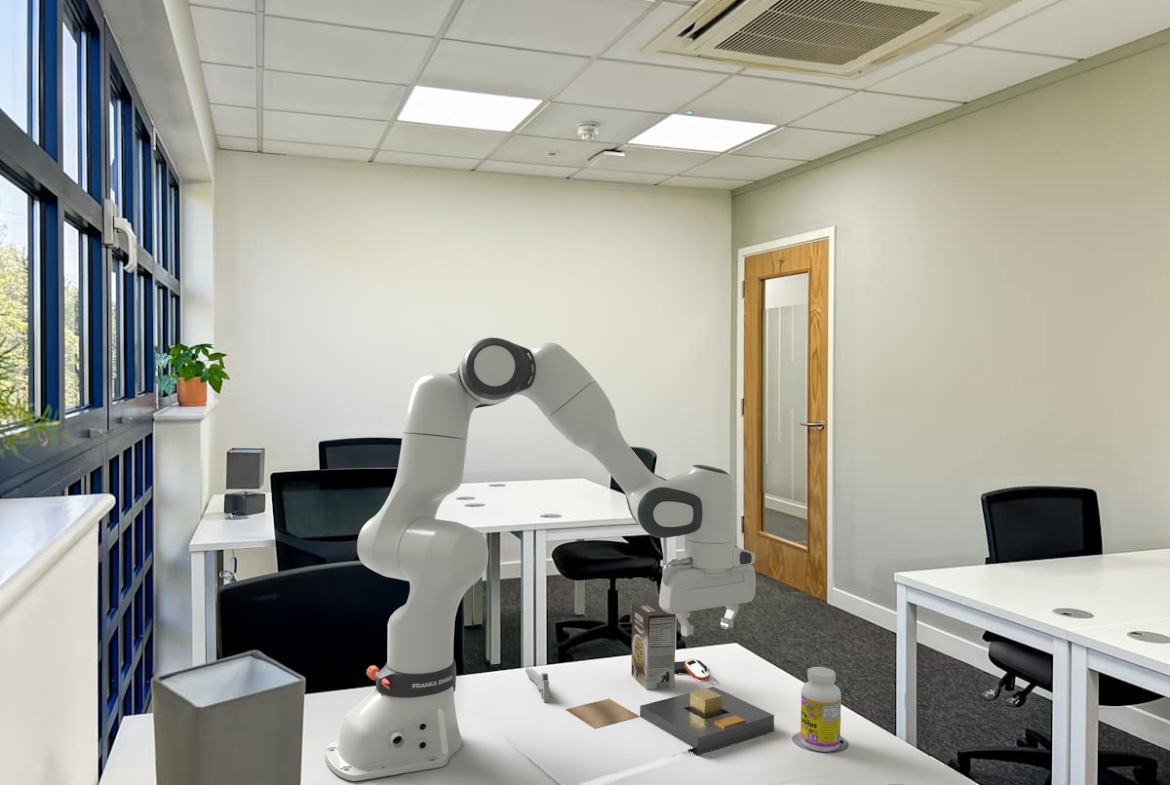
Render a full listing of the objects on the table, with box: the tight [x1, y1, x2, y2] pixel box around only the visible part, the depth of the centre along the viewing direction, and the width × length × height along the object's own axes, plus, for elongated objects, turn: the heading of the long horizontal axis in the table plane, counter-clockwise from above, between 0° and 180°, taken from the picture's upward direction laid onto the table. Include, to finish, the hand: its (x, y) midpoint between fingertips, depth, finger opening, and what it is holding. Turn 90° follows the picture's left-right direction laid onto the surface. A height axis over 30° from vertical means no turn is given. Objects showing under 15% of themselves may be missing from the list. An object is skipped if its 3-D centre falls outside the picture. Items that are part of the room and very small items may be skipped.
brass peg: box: [689, 687, 722, 720], centre depth 149 cm, size 4×4×6 cm
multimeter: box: [675, 658, 719, 685], centre depth 173 cm, size 18×12×3 cm, turn 10°
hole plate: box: [639, 686, 775, 756], centre depth 149 cm, size 18×16×3 cm
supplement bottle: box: [800, 666, 842, 753], centre depth 142 cm, size 7×7×13 cm
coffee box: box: [631, 601, 677, 691], centre depth 169 cm, size 9×6×16 cm
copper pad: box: [565, 698, 641, 730], centre depth 152 cm, size 10×10×1 cm
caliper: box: [525, 667, 550, 704], centre depth 167 cm, size 20×1×6 cm, turn 14°
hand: (707, 631), depth 148 cm, fingers open, 8 cm apart
